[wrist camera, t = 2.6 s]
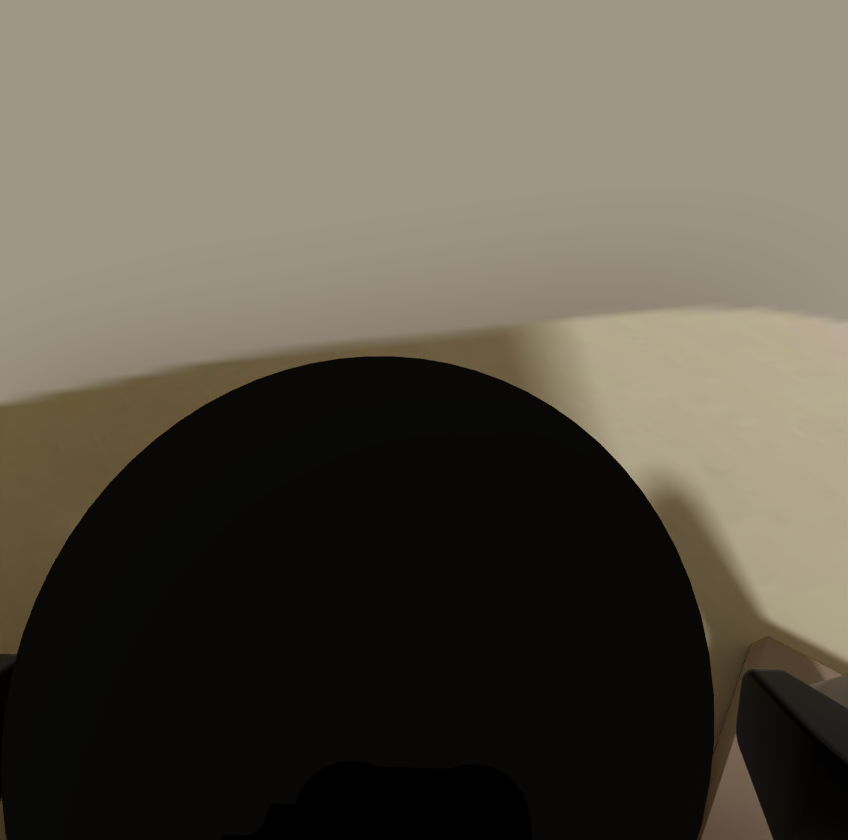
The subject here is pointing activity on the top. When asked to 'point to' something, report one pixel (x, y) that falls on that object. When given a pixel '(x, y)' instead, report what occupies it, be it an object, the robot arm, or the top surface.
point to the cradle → (730, 782)
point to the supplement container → (364, 630)
